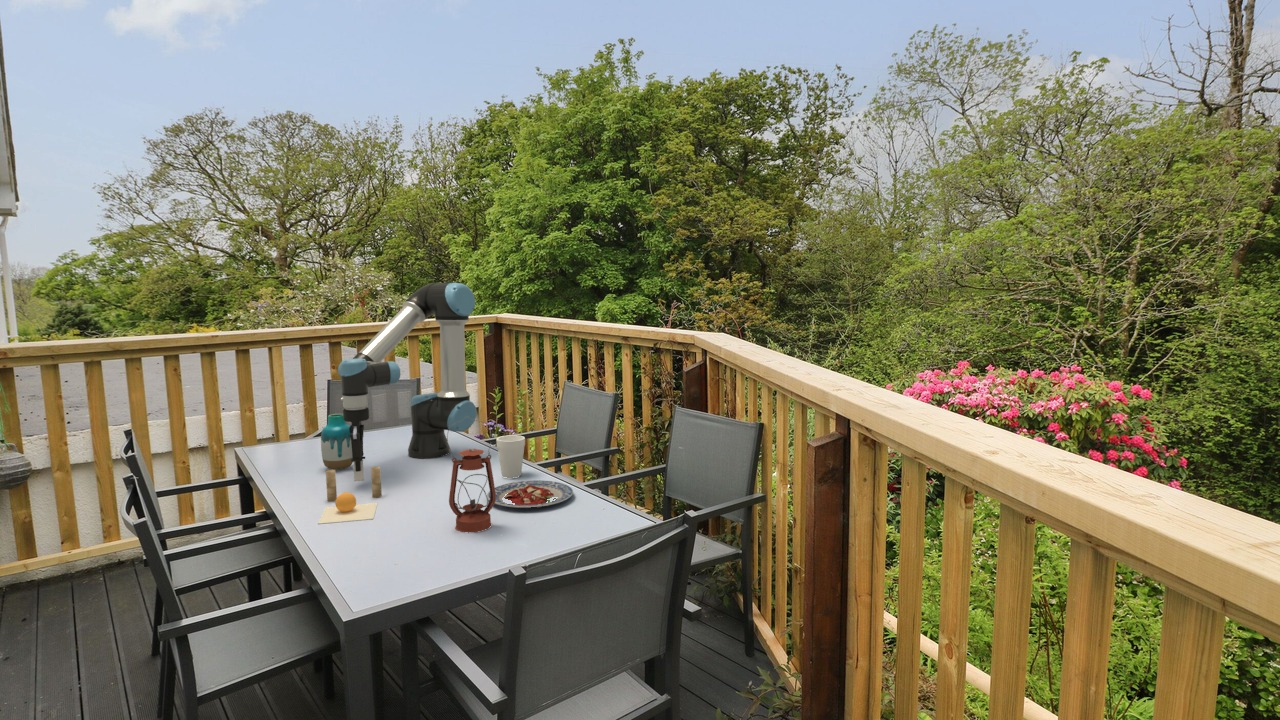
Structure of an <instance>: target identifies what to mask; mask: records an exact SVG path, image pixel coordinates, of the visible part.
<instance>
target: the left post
mask: <svg viewBox="0 0 1280 720" xmlns="http://www.w3.org/2000/svg"><path fill="white" fill-rule="evenodd" d="M336 473H337V472H336V470H332V469H328V470H326V471H325V478H326V479H325V482H326V496H327V497H326V499H327V500H326V501H327V502H336V499H337V497H338V496H337V495H338V494H337V493H338V492H337V475H336Z"/></svg>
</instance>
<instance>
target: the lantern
mask: <svg viewBox="0 0 1280 720" xmlns="http://www.w3.org/2000/svg"><path fill="white" fill-rule="evenodd" d="M465 418H466V417H465ZM465 418H464V419H465ZM464 419H463V420H464ZM469 419H470V418H469ZM463 420H462V421H463ZM471 420H473V419H471ZM475 421H476V422H478V420H477V419H475ZM475 421H474V422H475ZM460 422H461V421H460ZM480 422H481V423H485V424H487V425H488V427H489V428H491V427H490V424H489V423H488V422H485V421H482V420H479V423H480ZM457 423H458V422H457ZM455 424H456V423H455ZM453 425H454V424H453ZM451 426H452V425H451ZM451 426H450V427H451ZM449 429H450V428H449ZM491 431H492V430H491V429H489V435H490V437H492V433H491ZM449 432H450V431H449V430H447V434H446V438H447V442H448V446H449V448H450V454H451V456H452V458H451V462H452V463H453V464H452V472H451V479H450V489H449V496H448V504H449V507H450V509H451V511H452V513H453V514H455V515H456V517H455V527H454V529H455V530H456V531H457V532H460V533H465V532H468V534H469V532H474V533H479V532H478V531H480V532H483V531H482V530H484V531H486V530H485V529H487V530H488V528H489V527H490V526H491V524H492V522H491V514H490V513H489V512H491V510H492V508H493V507H494V505H495V501H496V492H495V486H496V485H495V481H494V474H493V469H492V463H491V459H492V455H491V454H490V449H491V446H492V443H490V445H489V447H488V451H487V452H488V454H487V455H486V457H482V456H481V455H483V454H484V453H485V451H484V450H483V449H476V448H469V449H465V450H462V451H459V452H458V455H460V456H462V458H461V459H457V458H456V457H455V456H454V455H453V452H452V450H451V447H450V444H449V440H448V435H449ZM484 464H485V465H484ZM484 468H486V471H485V472H486V474H483V473H476V474H474V473H473V474H470V475H468V476H467V477H465V478H464V479H463V480H460V479H458V474H459V469H460V470H462V471H478V470H482V469H484ZM473 476H483V477H486V478H487V479H486V480H485V483H484V485H483V486H481V485H480V484H478V483H473V482H467V481H466V480H467V479H468V478H469V477H473ZM457 482H459V483H460V484H461V485H460V487H459V490H458V494H457V503H456V499H455V498H456V497H455V496H456V488H457ZM487 483H488V487H489V491H490V501H489V500H488V498H487V493H486V491H485V489H484V488H485V486H486V484H487ZM464 484H469V485H475V486H478V487H479V488H480V489H481V491H480V493H479V496H478V499H477V502H476V499H475V498H474V499H472V498H471V497H470V494H469V493H468V490H467V487H466V486H465V485H464ZM462 487H463V488H464V489H465V491H466V494H467V497H468V498H469V503H467V504H465V505H464V504H463V506H461V505H460V503H459V496H460V493H461V492H460V491H461V489H462ZM483 492H484V495H485V498H486V501H487V502H486V505H484V504H482V503H479V501H480V498H481V496H482V495H481V494H482V493H483ZM483 508H485V509H483ZM460 509H461V510H463V512H462V511H461V510H460ZM491 527H492V526H491ZM491 527H490V528H491ZM490 528H489V529H490Z"/></svg>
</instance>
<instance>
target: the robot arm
mask: <svg viewBox="0 0 1280 720" xmlns="http://www.w3.org/2000/svg"><path fill="white" fill-rule="evenodd" d="M475 298H476V297H475V294H474V293H473V290H471V289H470V287H469V286H467V284H463V283H459V282H432V283H427V284H426V285H423V286H421V287H420V288H418V289H417V290H416V291H414V292H413V293H412V294H411V295H409V297H408V298H406V300H405V301H404V302H403V303H402V305H401V306H402V308H401V309H400V310H399V311H398V312H397V313H396V314H395V315H394V316H393V317H392V318H391V319H390V320H389V321H388V322H387V323H386V324H385V325H384V326H383V327H382V328H381V329H380V330H379V331H378V332H377V333H376V334H375V335H374V336H373V337H372V338H371V339H370V341H368V342H367V344H366V345H365V346H363V348H362V349H361V350H360V351H359V352H358V353H357V354H356V355H355V356H354V357H352V358H347V359H344V360H342V361H341V362H340V364H339V365H338V367H337V371H338V372H337V373H338V375H339V378H340V379H341V392H342V393H341V395H342V397H340V401H341V402H342V407H343V410H342V414H343V419H344V421H346V423H351V425H350V427H349V432H350V436H351V445H352V457H353V458H352V459H351V462H353V463H352V464H353V479H354V482H364V480H365V474H364V460H366V456H364V431H365V425H364V424H363V423H362V422H364V421H365V422H366V421H367V420H369V419H370V409H369V404H370V403H369V388H372V387H380V386H386V385H387V386H389V385H391V384H396V383H397V382H399V380H400V378H401V368H400V366H399V364H398V363H397V362H395V361H393V360H392V361H388V360H385V361H384V359H385V358H386V357H387V356H389V354H390V353H391V352H392V351H393V350H394V349H395V348H396V347H397V346H398V344H399V343H401V341H403V340H404V338H406V336H408V334H409V333H410V332H411V331H412V330H413V329H414V328H415V327H416V326H417V325H418V324H419V323H423V322H425V320H427V319H428V318H429V317H431V316H434V315H435V322H437V323H438V325H439V341H440V342H439V343H440V344H439V346H440V348H439V349H440V351H439V352H440V391H439V392H430V393H423V394H417V395H414V396H413V397H412V398H411V403H410V408H411V409H410V410H411V411H410V412H411V429H412V431H411V433H412V435H411V439H410V442H409V444H408V445H409V446H408V449H407V456H409V457H410V458H413V459H432V458H433V457H435V458H439V457H444V456H447V455H449V454H450V453H451V451H450V449H451V447H450V445H449V446H448V444H449V441H448V442H447V439H448V437H447V435H446V433H445V431H448V430H449V431H448V432H453V433H454V432H456V433H457V432H459V433H460V432H465V431H467V430H469V429H470V428H471V427H472V425H474V423H475V420H477V419H476V418H477V407H476V405H475V404H474V402H472V401H471V400H470V396H471V394H470V393H469V392H468V391H467V390H466V355H465V354H466V348H465V347H466V346H465V345H466V341H465V340H466V339H465V325H466V324H467V322H469V320H470V319H469V316H470V315H471V314H472V313H473V310H475V307H476V299H475ZM465 417H466V418H465ZM464 418H465V419H464ZM469 418H470V419H469ZM463 419H464V420H463ZM471 419H473V420H471ZM462 420H463V421H462ZM460 421H461V422H460ZM457 422H458V423H457ZM455 423H456V424H455ZM453 424H454V425H453ZM451 425H452V426H451ZM450 426H451V427H450ZM449 428H450V429H449ZM449 447H450V448H449ZM449 452H450V453H449ZM448 453H449V454H448ZM446 454H447V455H446ZM443 455H444V456H443Z"/></svg>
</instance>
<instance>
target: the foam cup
mask: <svg viewBox="0 0 1280 720" xmlns="http://www.w3.org/2000/svg"><path fill="white" fill-rule="evenodd" d="M495 439H496V441H495V442H496V447H497V452H498V460H499V466H500V472H501V477H502V476H503V477H507V478H513V477H518V476H520V475H521V476H522V470H523V462H524V452H525V446H526V438H525V436H522V435H518V434H515V435H514V434H513V435H512V434H511V435H510V434H509V435H507V434H506V435H502V436H499V437H496V438H495ZM521 476H520V477H521ZM503 477H502V478H503ZM507 478H506V479H507ZM518 478H519V477H518ZM513 479H514V478H513Z"/></svg>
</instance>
